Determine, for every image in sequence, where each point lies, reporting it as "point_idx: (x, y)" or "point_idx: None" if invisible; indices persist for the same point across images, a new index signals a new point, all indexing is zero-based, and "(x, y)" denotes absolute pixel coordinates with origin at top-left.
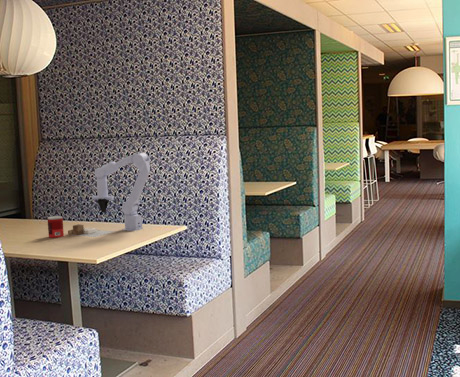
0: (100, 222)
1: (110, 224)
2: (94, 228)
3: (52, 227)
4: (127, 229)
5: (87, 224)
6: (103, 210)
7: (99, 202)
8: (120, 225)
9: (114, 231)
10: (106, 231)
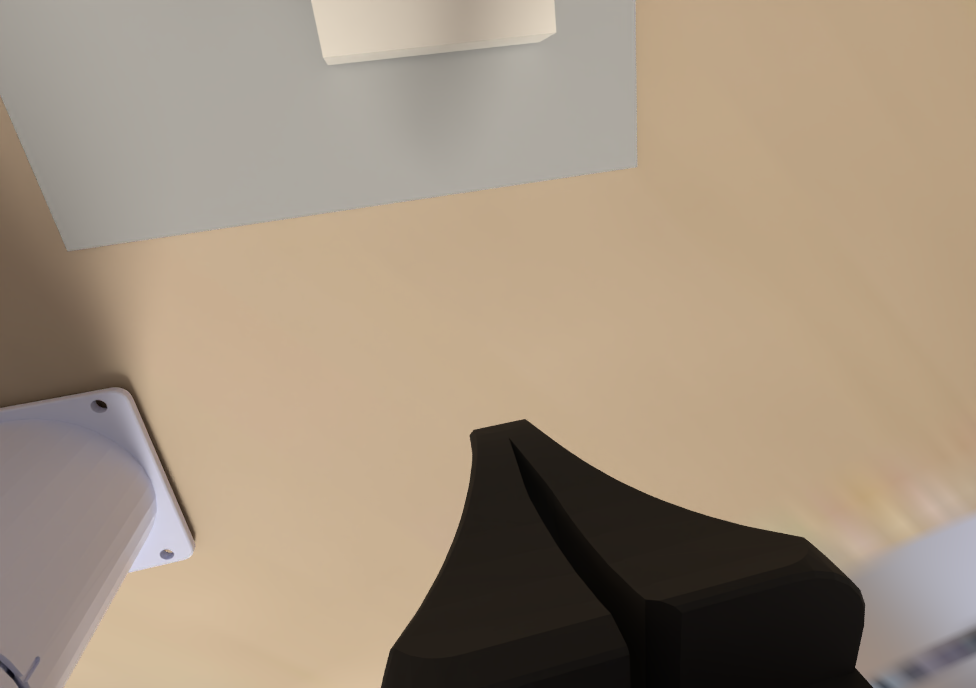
0: None
1: None
2: (359, 28)
3: None
4: (4, 424)
5: (882, 433)
6: (473, 459)
7: (651, 564)
8: None
9: (76, 234)
10: (206, 169)
